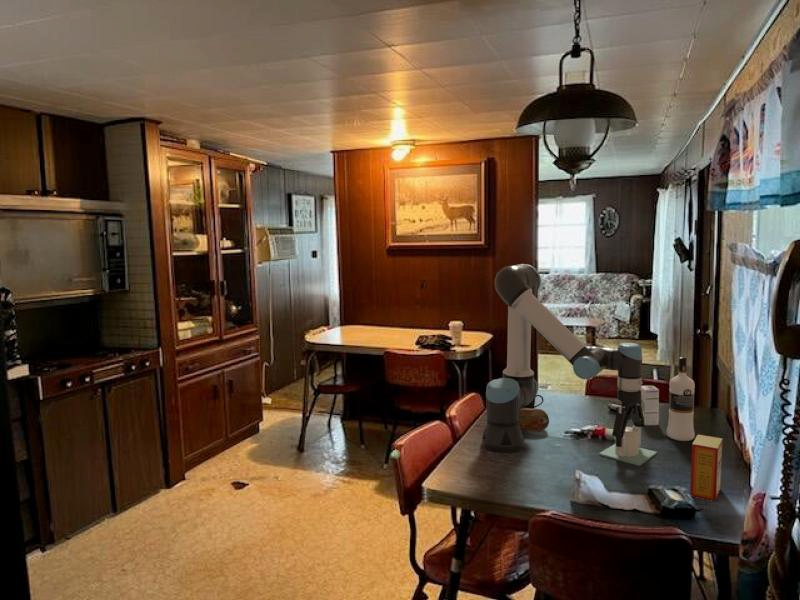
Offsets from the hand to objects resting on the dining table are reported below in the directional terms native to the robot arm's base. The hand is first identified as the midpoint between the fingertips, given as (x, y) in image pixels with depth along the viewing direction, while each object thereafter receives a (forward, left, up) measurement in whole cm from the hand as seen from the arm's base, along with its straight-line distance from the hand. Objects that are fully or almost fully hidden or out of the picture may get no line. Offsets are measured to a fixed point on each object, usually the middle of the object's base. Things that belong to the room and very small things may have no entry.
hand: (628, 450), depth 200 cm
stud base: (0, 0, -2) cm, 2 cm away
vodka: (+28, -7, -2) cm, 29 cm away
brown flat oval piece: (-1, +39, -2) cm, 39 cm away
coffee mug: (+15, +50, -2) cm, 52 cm away
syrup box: (+36, +8, -2) cm, 37 cm away
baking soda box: (-13, -29, -2) cm, 32 cm away
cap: (0, 0, -1) cm, 1 cm away
